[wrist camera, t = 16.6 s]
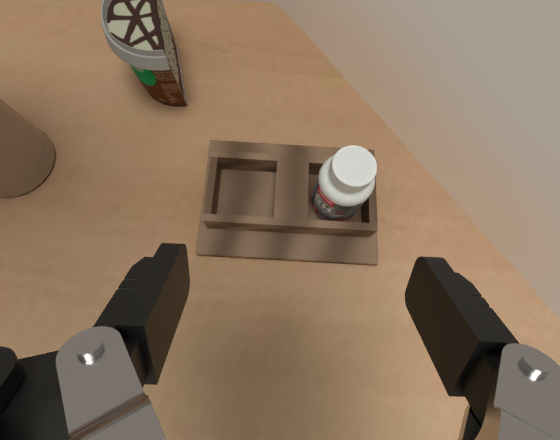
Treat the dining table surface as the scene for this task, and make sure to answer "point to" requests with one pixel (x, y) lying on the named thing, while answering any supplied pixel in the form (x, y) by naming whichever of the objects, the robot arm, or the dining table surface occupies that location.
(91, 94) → the dining table surface
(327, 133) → the dining table surface
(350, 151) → the pill bottle
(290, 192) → the walnut organizer
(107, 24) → the food container
